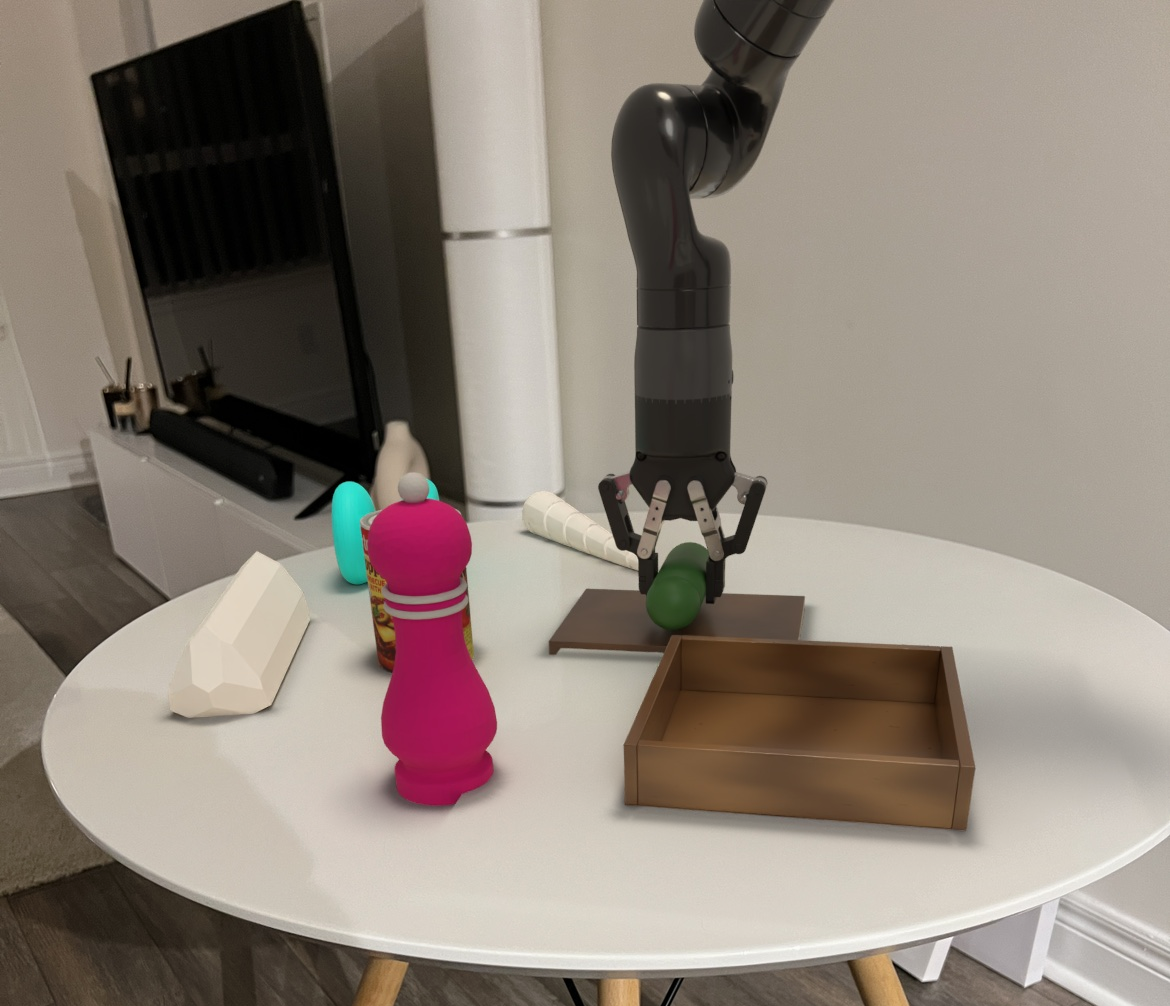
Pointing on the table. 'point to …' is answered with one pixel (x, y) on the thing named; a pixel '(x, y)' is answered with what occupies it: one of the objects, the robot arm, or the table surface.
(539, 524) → the unicorn horn
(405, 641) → the pepper mill
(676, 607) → the cucumber
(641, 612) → the cutting board
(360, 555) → the donuts
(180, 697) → the crystal
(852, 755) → the wooden tray
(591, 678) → the table surface
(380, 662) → the canned food
